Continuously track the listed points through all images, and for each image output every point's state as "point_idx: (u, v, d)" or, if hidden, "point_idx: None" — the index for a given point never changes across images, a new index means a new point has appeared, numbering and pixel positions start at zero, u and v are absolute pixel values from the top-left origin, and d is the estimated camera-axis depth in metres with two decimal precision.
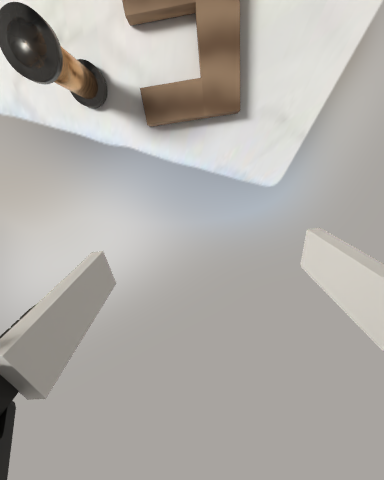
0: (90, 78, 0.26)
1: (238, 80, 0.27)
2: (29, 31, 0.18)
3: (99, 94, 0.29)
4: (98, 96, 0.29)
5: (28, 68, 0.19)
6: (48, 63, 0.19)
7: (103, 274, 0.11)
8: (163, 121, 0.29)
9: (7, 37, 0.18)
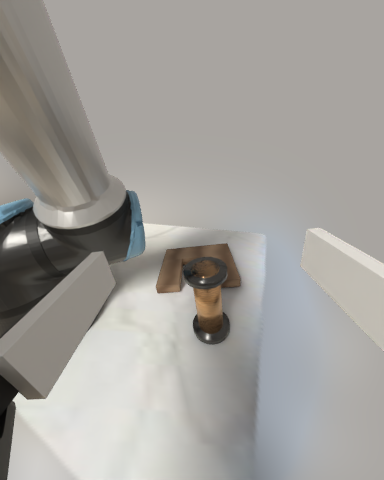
0: None
1: (213, 245, 0.50)
2: (198, 265, 0.24)
3: None
4: None
5: (219, 271, 0.22)
6: (216, 260, 0.25)
7: (103, 274, 0.11)
8: (236, 270, 0.38)
9: (199, 277, 0.22)
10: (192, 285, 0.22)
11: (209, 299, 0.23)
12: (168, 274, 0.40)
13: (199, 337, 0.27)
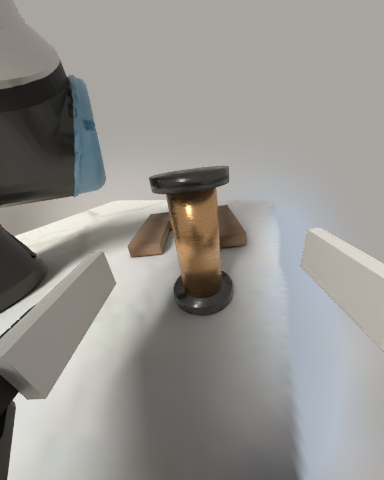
0: None
1: None
2: (178, 172, 0.14)
3: None
4: None
5: (213, 169, 0.12)
6: (209, 167, 0.14)
7: (103, 274, 0.11)
8: (240, 226, 0.28)
9: (176, 175, 0.11)
10: (162, 189, 0.11)
11: (196, 226, 0.13)
12: (148, 234, 0.29)
13: (183, 304, 0.16)
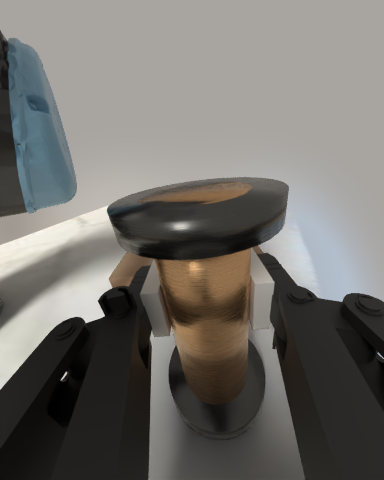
0: None
1: None
2: (173, 190, 0.07)
3: None
4: None
5: (253, 189, 0.05)
6: (233, 179, 0.07)
7: None
8: (259, 249, 0.21)
9: (167, 206, 0.05)
10: (130, 244, 0.04)
11: (212, 307, 0.06)
12: (138, 258, 0.23)
13: (182, 414, 0.09)
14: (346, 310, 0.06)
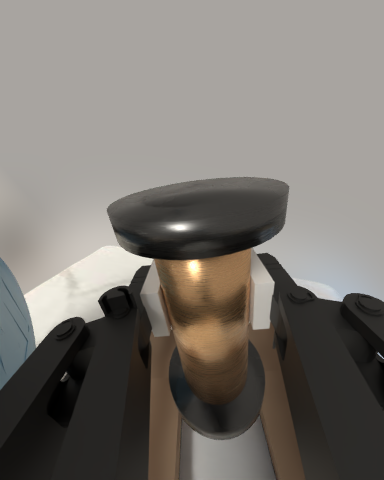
0: None
1: None
2: (173, 190, 0.07)
3: None
4: None
5: (253, 188, 0.05)
6: (233, 179, 0.07)
7: None
8: None
9: (167, 206, 0.05)
10: (130, 244, 0.04)
11: (212, 308, 0.06)
12: None
13: (182, 415, 0.09)
14: (346, 310, 0.06)
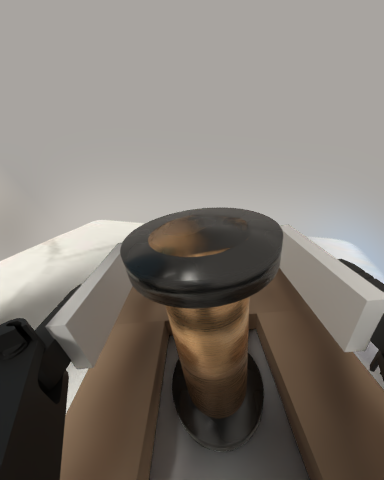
0: None
1: None
2: (178, 225, 0.08)
3: None
4: None
5: (252, 233, 0.06)
6: (234, 212, 0.08)
7: None
8: None
9: (175, 255, 0.05)
10: (142, 289, 0.05)
11: (214, 336, 0.07)
12: (101, 419, 0.10)
13: (186, 427, 0.10)
14: None
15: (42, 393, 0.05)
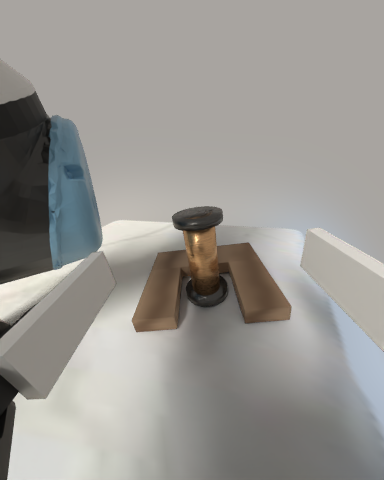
0: None
1: (228, 245, 0.33)
2: (189, 212, 0.21)
3: None
4: None
5: (213, 213, 0.19)
6: (210, 208, 0.22)
7: (103, 274, 0.11)
8: (278, 288, 0.21)
9: (190, 218, 0.19)
10: (181, 228, 0.19)
11: (202, 248, 0.20)
12: (157, 295, 0.23)
13: (193, 300, 0.23)
14: None
15: None
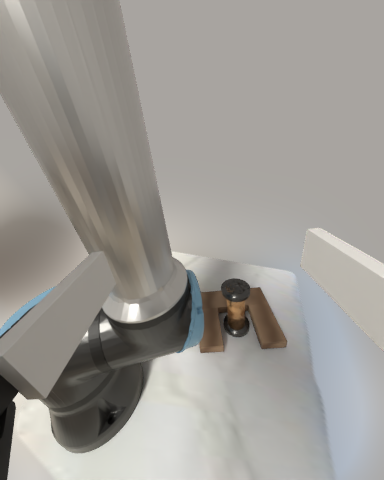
0: None
1: None
2: (230, 285, 0.37)
3: None
4: None
5: (245, 289, 0.35)
6: (241, 282, 0.38)
7: (103, 274, 0.11)
8: (279, 328, 0.37)
9: (233, 294, 0.35)
10: (229, 299, 0.35)
11: (238, 307, 0.36)
12: (209, 330, 0.39)
13: (229, 332, 0.39)
14: None
15: None
